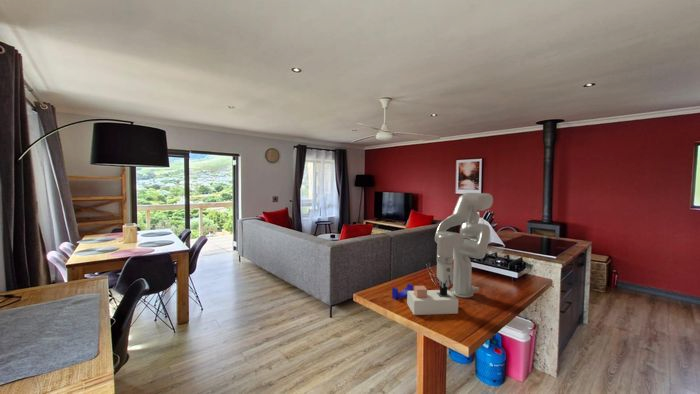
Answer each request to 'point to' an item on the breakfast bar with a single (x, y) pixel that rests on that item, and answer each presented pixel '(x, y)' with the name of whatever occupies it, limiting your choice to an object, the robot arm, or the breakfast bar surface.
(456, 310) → the block
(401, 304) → the breakfast bar surface
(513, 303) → the breakfast bar surface
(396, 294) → the blue curved piece
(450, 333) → the breakfast bar surface
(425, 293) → the dusty pink cube
